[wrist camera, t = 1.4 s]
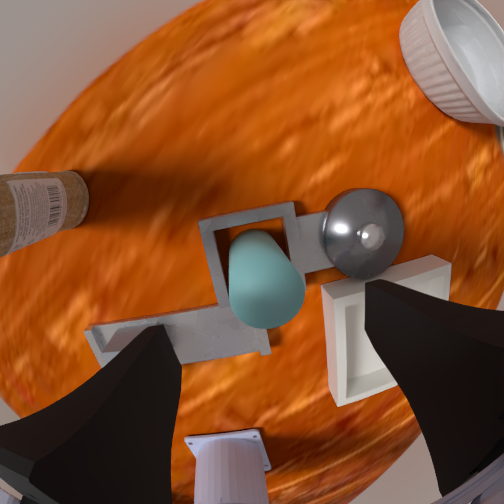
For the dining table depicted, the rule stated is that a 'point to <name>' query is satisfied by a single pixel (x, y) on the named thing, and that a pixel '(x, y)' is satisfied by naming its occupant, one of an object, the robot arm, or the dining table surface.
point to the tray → (352, 326)
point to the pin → (262, 281)
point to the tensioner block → (320, 236)
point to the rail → (191, 334)
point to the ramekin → (456, 58)
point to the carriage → (121, 340)
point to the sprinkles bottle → (39, 206)
